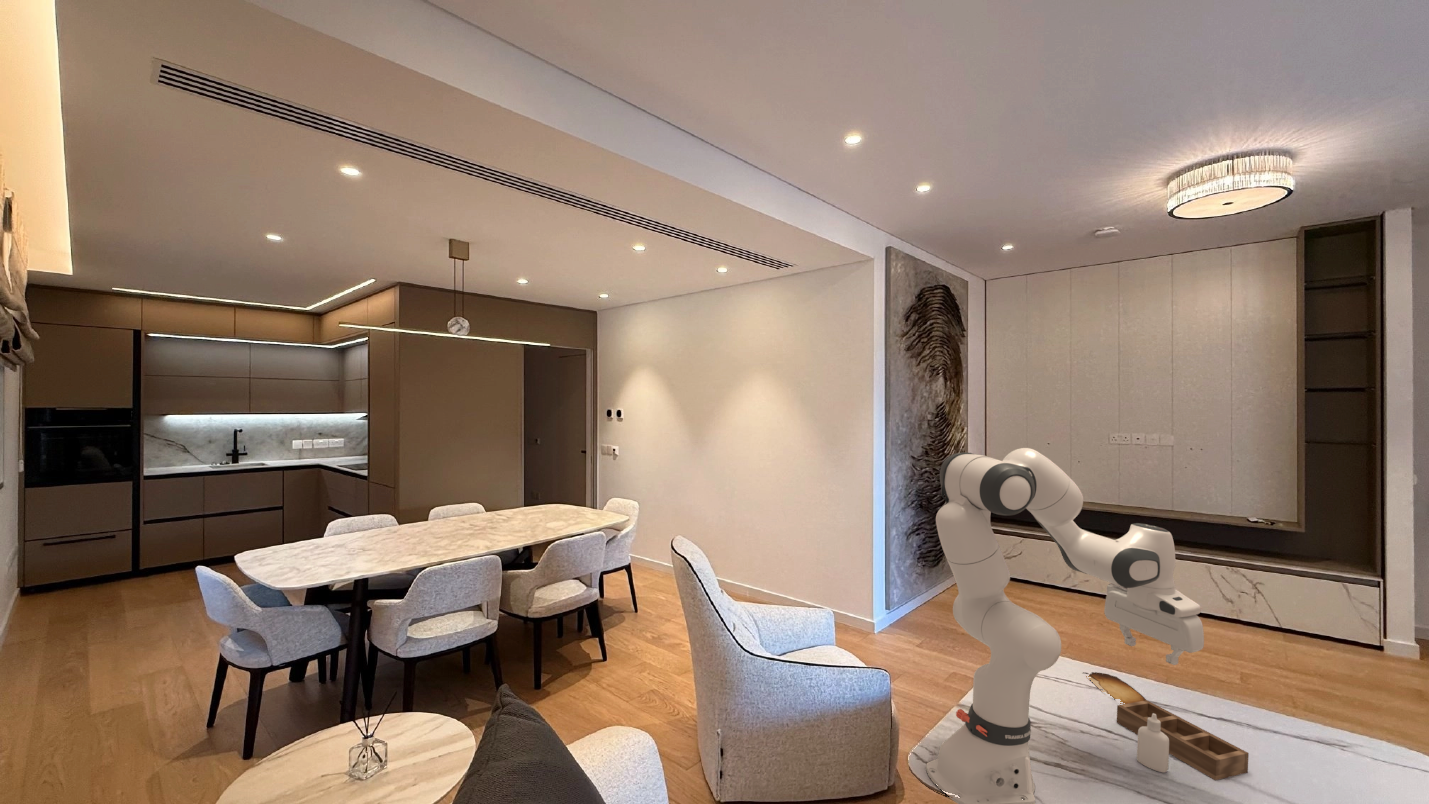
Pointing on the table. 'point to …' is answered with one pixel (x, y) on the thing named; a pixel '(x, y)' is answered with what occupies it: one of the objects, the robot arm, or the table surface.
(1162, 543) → the robot arm
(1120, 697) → the parchment
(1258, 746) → the table surface
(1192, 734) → the slot rack
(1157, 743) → the eye dropper bottle
